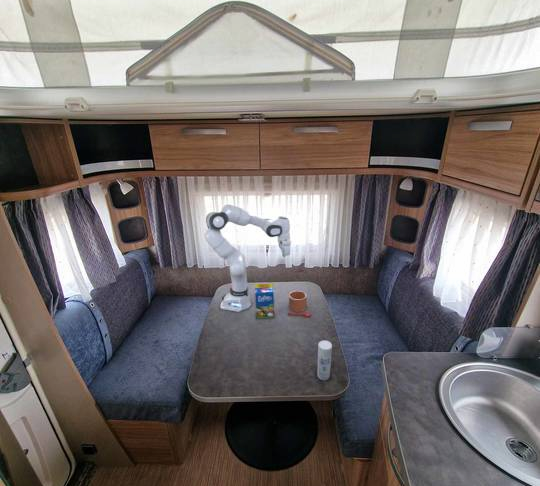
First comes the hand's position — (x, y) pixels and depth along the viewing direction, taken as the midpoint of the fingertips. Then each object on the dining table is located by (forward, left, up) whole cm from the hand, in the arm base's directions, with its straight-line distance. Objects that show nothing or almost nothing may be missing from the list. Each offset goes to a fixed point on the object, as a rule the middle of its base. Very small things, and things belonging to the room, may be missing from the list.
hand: (284, 256), depth 210 cm
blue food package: (-10, -32, -31) cm, 46 cm away
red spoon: (+13, -29, -31) cm, 44 cm away
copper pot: (+11, -19, -31) cm, 38 cm away
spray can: (+28, -81, -21) cm, 89 cm away
